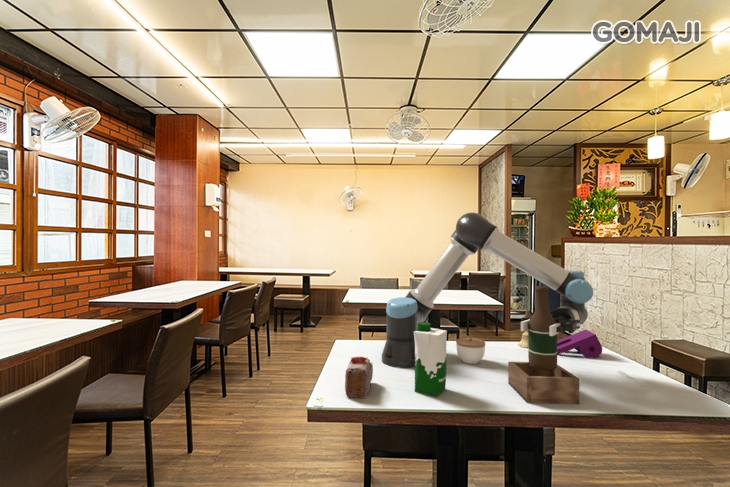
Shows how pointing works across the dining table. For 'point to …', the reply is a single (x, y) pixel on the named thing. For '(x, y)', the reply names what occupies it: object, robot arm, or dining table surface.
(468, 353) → the lidded jar
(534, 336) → the beer bottle
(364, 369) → the food item
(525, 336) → the hand bell
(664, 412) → the dining table surface
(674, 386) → the dining table surface
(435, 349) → the milk carton
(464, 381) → the dining table surface
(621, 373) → the butter knife
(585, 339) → the mounting bracket
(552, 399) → the walnut box
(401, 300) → the robot arm
